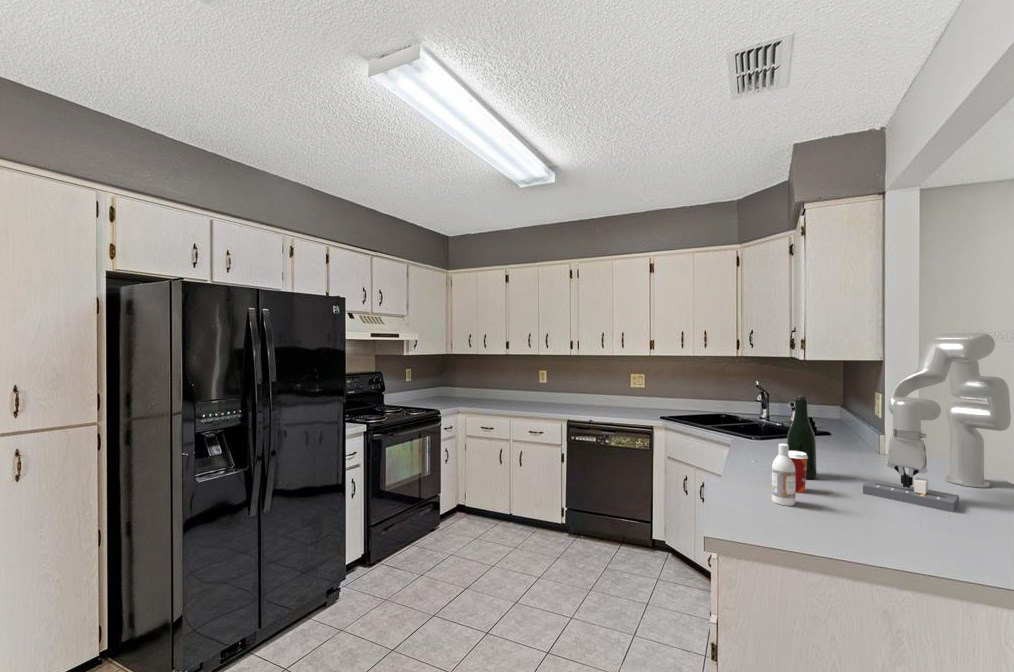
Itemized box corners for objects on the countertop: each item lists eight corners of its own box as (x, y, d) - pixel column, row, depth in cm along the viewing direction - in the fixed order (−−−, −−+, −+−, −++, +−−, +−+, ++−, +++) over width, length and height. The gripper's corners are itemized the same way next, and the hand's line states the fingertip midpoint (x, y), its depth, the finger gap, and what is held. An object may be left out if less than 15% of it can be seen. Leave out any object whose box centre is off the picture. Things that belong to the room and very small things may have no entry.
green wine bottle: (799, 471, 196) (799, 393, 197) (822, 478, 186) (822, 396, 187) (780, 473, 193) (780, 394, 193) (803, 481, 183) (803, 397, 183)
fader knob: (916, 488, 164) (916, 477, 164) (928, 491, 161) (928, 479, 161) (914, 491, 160) (914, 480, 160) (925, 494, 158) (925, 482, 158)
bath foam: (783, 507, 154) (783, 447, 155) (767, 500, 161) (767, 442, 161) (800, 505, 156) (800, 446, 156) (783, 498, 163) (783, 441, 163)
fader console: (871, 486, 176) (871, 478, 176) (958, 504, 158) (958, 494, 158) (862, 493, 168) (862, 484, 168) (953, 512, 150) (953, 502, 150)
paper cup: (811, 494, 167) (811, 455, 167) (788, 493, 169) (788, 454, 169) (802, 487, 175) (802, 450, 175) (780, 486, 176) (780, 449, 176)
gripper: (936, 437, 161) (937, 489, 160) (882, 430, 172) (882, 479, 172) (933, 440, 156) (933, 494, 156) (877, 433, 167) (877, 483, 167)
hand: (906, 486), depth 164 cm, fingers closed
